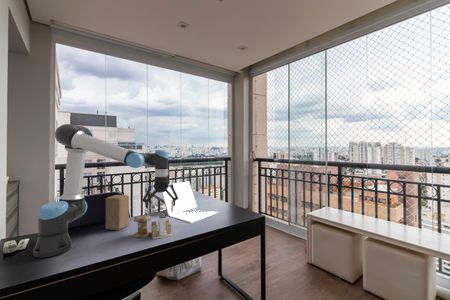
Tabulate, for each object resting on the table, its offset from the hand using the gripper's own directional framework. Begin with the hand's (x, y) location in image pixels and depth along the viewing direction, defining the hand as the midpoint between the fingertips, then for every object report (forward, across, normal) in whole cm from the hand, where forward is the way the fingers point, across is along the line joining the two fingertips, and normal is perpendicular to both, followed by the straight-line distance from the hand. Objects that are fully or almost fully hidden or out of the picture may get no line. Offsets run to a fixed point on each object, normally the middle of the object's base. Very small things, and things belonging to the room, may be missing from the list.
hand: (160, 212), depth 126 cm
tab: (+12, +1, 0) cm, 12 cm away
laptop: (+13, +26, +33) cm, 45 cm away
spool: (+13, -9, +4) cm, 17 cm away
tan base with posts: (+13, +1, 0) cm, 13 cm away
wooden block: (+14, -23, +24) cm, 36 cm away
